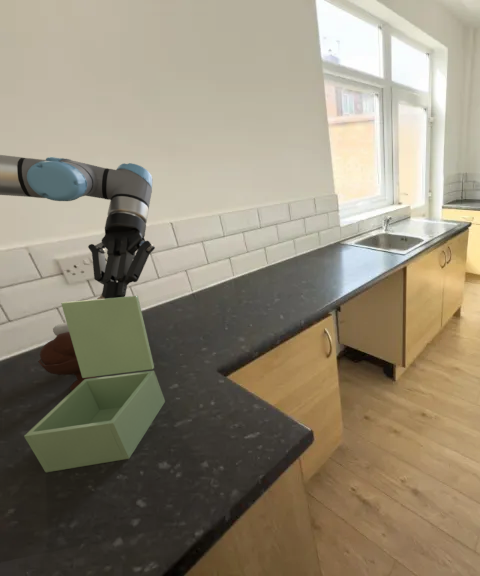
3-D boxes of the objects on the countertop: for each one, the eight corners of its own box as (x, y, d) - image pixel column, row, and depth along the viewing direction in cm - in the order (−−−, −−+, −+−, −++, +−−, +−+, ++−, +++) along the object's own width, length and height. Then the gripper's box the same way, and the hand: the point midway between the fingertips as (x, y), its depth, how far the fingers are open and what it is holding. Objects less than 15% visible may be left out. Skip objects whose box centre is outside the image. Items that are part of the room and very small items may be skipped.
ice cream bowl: (117, 366, 87) (98, 318, 82) (101, 392, 78) (77, 339, 72) (69, 376, 84) (45, 326, 78) (45, 404, 74) (16, 349, 69)
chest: (129, 458, 60) (113, 422, 56) (45, 472, 57) (23, 436, 54) (165, 401, 74) (154, 370, 71) (99, 410, 72) (84, 379, 68)
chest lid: (135, 296, 67) (138, 295, 67) (60, 303, 64) (64, 302, 65) (152, 369, 70) (154, 367, 71) (82, 378, 68) (85, 376, 69)
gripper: (164, 227, 82) (153, 313, 73) (107, 231, 80) (89, 320, 71) (148, 209, 75) (134, 302, 66) (85, 212, 73) (62, 308, 64)
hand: (110, 311), depth 69 cm, fingers closed
